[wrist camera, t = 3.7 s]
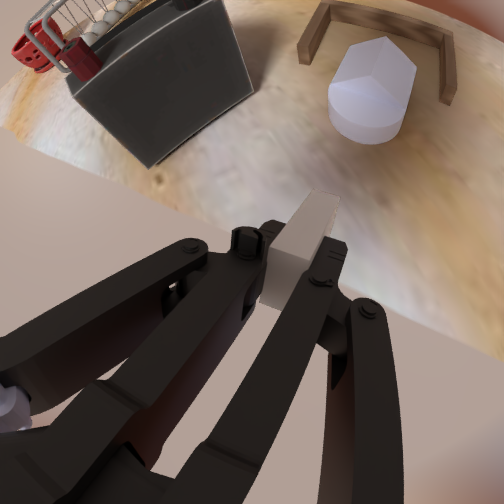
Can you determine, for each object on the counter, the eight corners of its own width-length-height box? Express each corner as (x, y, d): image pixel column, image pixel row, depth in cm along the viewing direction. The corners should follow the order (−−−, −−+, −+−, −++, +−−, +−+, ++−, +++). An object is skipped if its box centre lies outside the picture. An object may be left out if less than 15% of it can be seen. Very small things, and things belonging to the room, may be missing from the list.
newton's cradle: (145, -5, 53) (117, -52, 36) (175, -8, 50) (147, -62, 33) (65, 76, 49) (19, 30, 32) (88, 77, 46) (38, 22, 29)
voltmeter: (195, 52, 41) (145, -44, 22) (256, 98, 36) (209, -36, 17) (113, 112, 41) (37, 31, 22) (153, 175, 36) (47, 73, 17)
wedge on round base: (349, 63, 34) (317, 128, 33) (350, 26, 28) (315, 89, 26) (412, 84, 32) (391, 156, 30) (421, 48, 26) (404, 120, 24)
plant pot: (29, 81, 55) (3, 57, 44) (56, 45, 57) (34, 21, 46) (51, 76, 51) (23, 47, 40) (82, 38, 53) (58, 9, 42)
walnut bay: (448, 47, 32) (452, 32, 29) (449, 105, 30) (457, 88, 27) (323, 14, 38) (322, -2, 35) (299, 63, 36) (296, 45, 33)
